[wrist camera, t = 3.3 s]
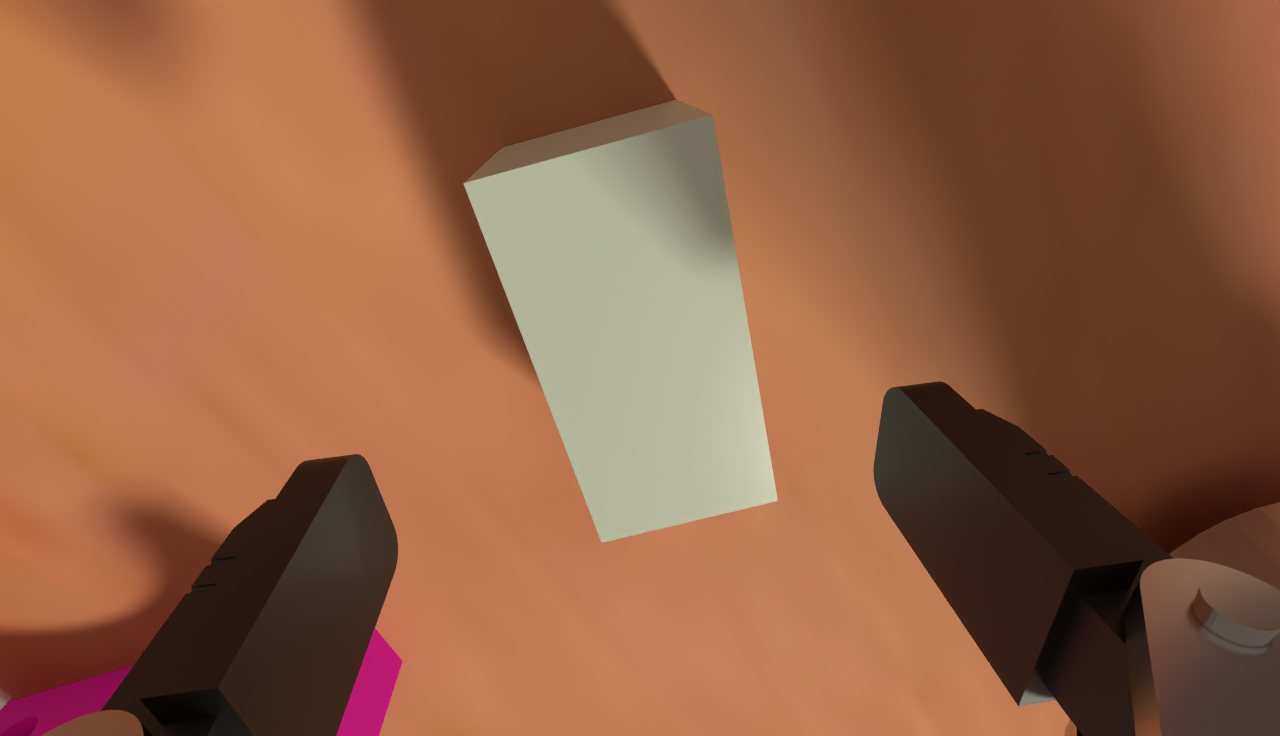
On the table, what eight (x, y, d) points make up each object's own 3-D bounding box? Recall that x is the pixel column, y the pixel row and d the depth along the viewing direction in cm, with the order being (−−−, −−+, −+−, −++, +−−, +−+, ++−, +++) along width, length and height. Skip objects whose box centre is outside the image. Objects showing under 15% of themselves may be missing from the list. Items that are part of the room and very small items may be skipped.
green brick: (675, 99, 14) (712, 114, 10) (733, 396, 18) (777, 500, 14) (502, 146, 14) (463, 183, 10) (599, 429, 19) (602, 542, 14)
